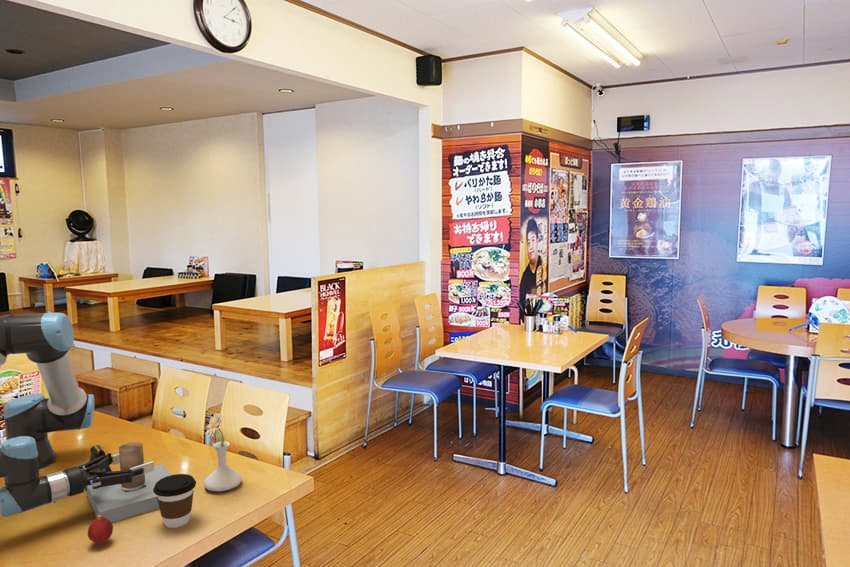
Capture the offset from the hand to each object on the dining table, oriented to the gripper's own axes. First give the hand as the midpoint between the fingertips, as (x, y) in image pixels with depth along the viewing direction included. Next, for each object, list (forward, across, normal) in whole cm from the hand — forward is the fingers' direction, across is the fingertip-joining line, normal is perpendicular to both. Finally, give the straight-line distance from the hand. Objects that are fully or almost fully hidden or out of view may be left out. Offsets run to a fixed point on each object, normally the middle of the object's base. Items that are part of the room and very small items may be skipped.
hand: (144, 459), depth 179 cm
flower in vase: (+18, +13, -11) cm, 25 cm away
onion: (-19, +18, -11) cm, 29 cm away
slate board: (-3, 0, -11) cm, 12 cm away
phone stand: (-7, -18, -12) cm, 22 cm away
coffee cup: (-1, +23, -11) cm, 26 cm away
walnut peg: (-4, 0, -11) cm, 11 cm away
